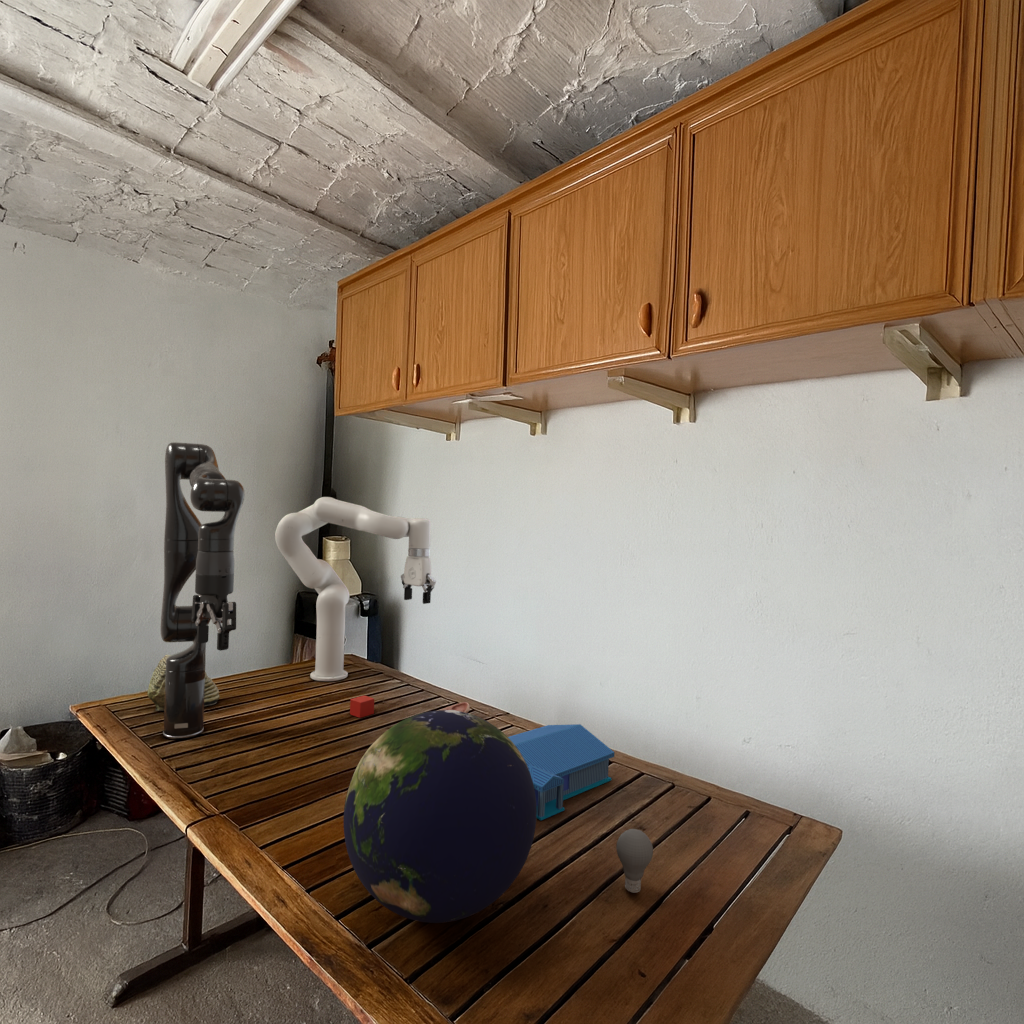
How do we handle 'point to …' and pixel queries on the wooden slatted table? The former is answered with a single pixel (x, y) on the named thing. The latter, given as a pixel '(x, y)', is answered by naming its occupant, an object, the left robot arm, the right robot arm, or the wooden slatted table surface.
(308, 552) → the right robot arm
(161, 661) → the fossil
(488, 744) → the globe
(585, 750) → the model building
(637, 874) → the light bulb
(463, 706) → the anatomical model
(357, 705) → the block
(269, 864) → the wooden slatted table surface
